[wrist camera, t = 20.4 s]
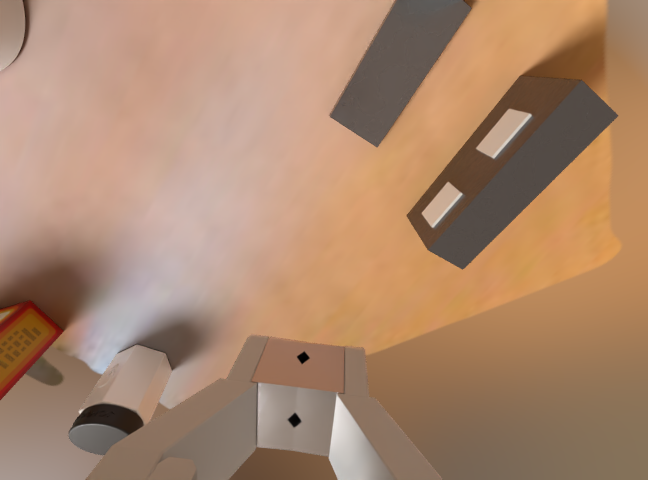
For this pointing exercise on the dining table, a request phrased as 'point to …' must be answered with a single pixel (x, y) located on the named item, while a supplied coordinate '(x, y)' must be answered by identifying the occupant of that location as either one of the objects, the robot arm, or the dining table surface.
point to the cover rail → (396, 64)
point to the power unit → (507, 164)
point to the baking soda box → (23, 341)
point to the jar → (121, 399)
